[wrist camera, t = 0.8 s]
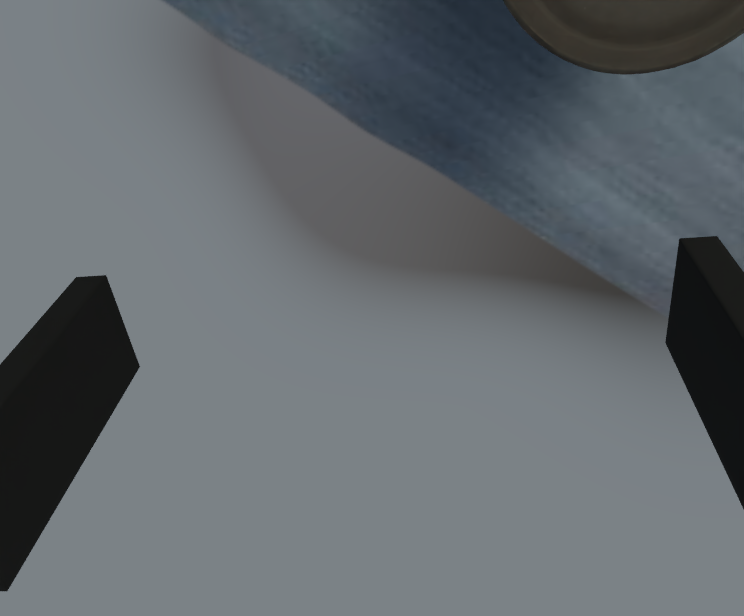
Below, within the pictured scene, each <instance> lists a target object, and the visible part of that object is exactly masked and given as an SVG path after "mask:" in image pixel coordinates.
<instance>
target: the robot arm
mask: <svg viewBox="0 0 744 616" xmlns="http://www.w3.org/2000/svg"><path fill="white" fill-rule="evenodd" d="M666 345H667V347H668V349H669V351H670V353H671V356H672V358H673V360H674V362H675V364H676V366H677V368H678V370H679V373H680V375H681V377H682V379H683V381H684V383H685V385H686V387H687V389H688V392H689V394H690V396H691V398H692V400H693V402H694V405H695V407H696V409H697V411H698V413H699V415H700V417H701V419H702V421H703V423H704V426H705V428H706V430H707V432H708V434H709V436H710V439H711V441H712V443H713V445H714V447H715V449H716V451H717V453H718V455H719V458H720V460H721V462H722V464H723V466H724V468H725V470H726V473H727V475H728V477H729V479H730V481H731V483H732V485H733V488H734V490H735V492H736V494H737V496H738V498H739V500H740V502H741V505H742V506H743V509H744V272H743V271H742V269H741V268H740V267H739V265H738V264H737V263H736V261H735V260H734V259H733V257H732V256H731V254H730V253H729V252H728V250H727V249H726V248H725V246H724V245H723V244H722V242H721V241H720V240H719V238H718V237H717V236H713V237H697V238H681V239H679V246H678V253H677V261H676V268H675V276H674V283H673V291H672V298H671V305H670V313H669V320H668V328H667V335H666ZM139 367H140V366H139V363H138V361H137V358H136V355H135V353H134V350H133V347H132V344H131V342H130V339H129V336H128V334H127V331H126V328H125V325H124V323H123V320H122V317H121V315H120V312H119V309H118V306H117V304H116V301H115V298H114V296H113V293H112V290H111V288H110V285H109V283H108V279H107V277H106V275H104V276H88V277H76V278H75V279H74V281H73V282H72V283H71V284H70V285H69V286H68V287H67V288H66V290H65V291H64V292H63V293H62V294H61V295H60V297H59V298H58V299H57V300H56V301H55V302H54V303H53V305H52V306H51V307H50V308H49V309H48V310H47V311H46V313H45V314H44V315H43V316H42V317H41V318H40V319H39V321H38V322H37V323H36V324H35V325H34V326H33V328H32V329H31V330H30V331H29V332H28V334H26V336H25V337H24V338H23V339H22V340H21V341H20V342H19V344H18V345H17V346H16V347H15V348H14V349H13V350H12V352H11V353H10V354H9V355H8V356H7V357H6V359H5V360H4V361H3V362H2V363H1V365H0V591H7V590H8V589H9V587H10V586H11V584H12V582H13V580H14V579H15V577H16V575H17V574H18V572H19V570H20V569H21V567H22V565H23V563H24V562H25V560H26V558H27V557H28V555H29V553H30V552H31V550H32V548H33V546H34V545H35V543H36V542H37V540H38V538H39V536H40V535H41V533H42V531H43V530H44V528H45V526H46V525H47V523H48V521H49V520H50V518H51V516H52V514H53V513H54V511H55V509H56V508H57V506H58V504H59V503H60V501H61V499H62V497H63V496H64V494H65V492H66V491H67V489H68V487H69V486H70V484H71V482H72V481H73V479H74V477H75V475H76V474H77V472H78V470H79V469H80V467H81V465H82V464H83V462H84V460H85V459H86V457H87V455H88V454H89V452H90V450H91V448H92V447H93V445H94V443H95V442H96V440H97V438H98V436H99V435H100V433H101V431H102V430H103V428H104V426H105V425H106V423H107V421H108V420H109V418H110V416H111V415H112V413H113V411H114V409H115V408H116V406H117V404H118V403H119V401H120V399H121V398H122V396H123V394H124V392H125V391H126V389H127V387H128V386H129V384H130V382H131V381H132V379H133V377H134V375H135V374H136V372H137V371H138V368H139Z"/></svg>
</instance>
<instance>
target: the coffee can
mask: <svg viewBox="0 0 744 616" xmlns="http://www.w3.org/2000/svg"><path fill="white" fill-rule="evenodd" d="M503 1H504V3H505V5H506V7H507V8H508V10H509V11H510V13H511V14H512V15H513V17H514V18H515V19H516V21H517V22H518V23H519V25H520V26H521V27H522V28H523V30H525V31H526V32H527V33H528V34H529V35H530V36H531V37H532V38H533V39H534V40H535V41H536V42H537V43H539V44H540V45H541V46H543V47H544V48H545V49H547V50H548V51H550V52H551V53H553V54H555V55H556V56H558V57H560V58H561V59H563V60H565V61H567V62H570V63H573V64H575V65H577V66H580V67H583V68H586V69H590V70H593V71H598V72H603V73H612V74H641V73H649V72H655V71H661V70H665V69H670V68H674V67H677V66H680V65H683V64H686V63H689V62H692V61H695V60H697V59H699V58H702V57H704V56H706V55H708V54H710V53H712V52H714V51H715V50H717V49H719V48H721V47H723V46H724V45H726V44H728V43H729V42H731V41H732V40H734V39H735V38H737V37H738V36H740V35H741V34H743V33H744V0H503Z"/></svg>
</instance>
